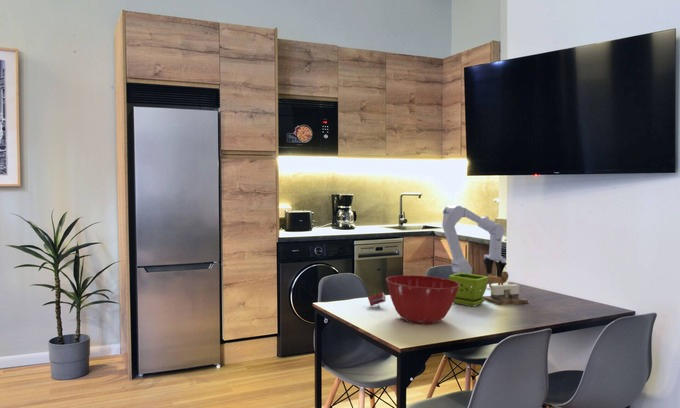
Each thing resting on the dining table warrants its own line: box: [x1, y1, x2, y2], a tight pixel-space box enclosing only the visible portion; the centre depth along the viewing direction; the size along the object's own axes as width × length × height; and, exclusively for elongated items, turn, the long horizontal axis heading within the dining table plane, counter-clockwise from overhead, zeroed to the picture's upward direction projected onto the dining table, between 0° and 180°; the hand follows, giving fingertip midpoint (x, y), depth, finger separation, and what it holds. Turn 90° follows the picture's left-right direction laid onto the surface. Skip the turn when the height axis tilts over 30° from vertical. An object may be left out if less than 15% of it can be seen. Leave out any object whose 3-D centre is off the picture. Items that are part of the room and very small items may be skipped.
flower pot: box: [448, 273, 489, 307], centre depth 250 cm, size 14×14×13 cm
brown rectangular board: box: [482, 289, 529, 306], centre depth 258 cm, size 17×12×5 cm
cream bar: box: [490, 283, 520, 295], centre depth 258 cm, size 14×3×4 cm, turn 113°
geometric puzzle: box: [367, 291, 386, 308], centre depth 236 cm, size 7×7×8 cm
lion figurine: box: [486, 270, 510, 289], centre depth 291 cm, size 15×5×9 cm, turn 106°
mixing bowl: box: [385, 274, 460, 325], centre depth 216 cm, size 28×28×16 cm
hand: (494, 275), depth 275 cm, fingers open, 7 cm apart
